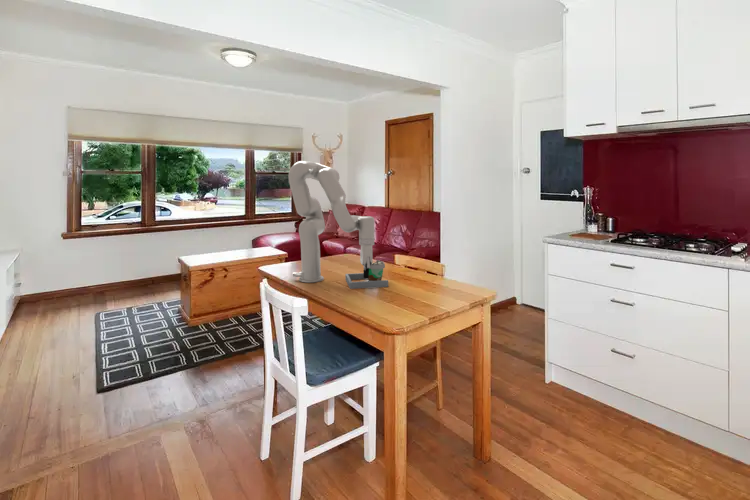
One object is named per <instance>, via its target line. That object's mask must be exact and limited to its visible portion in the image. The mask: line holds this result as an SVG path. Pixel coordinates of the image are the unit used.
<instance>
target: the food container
mask: <svg viewBox="0 0 750 500" xmlns="http://www.w3.org/2000/svg"><path fill="white" fill-rule="evenodd" d="M385 268H386V265H385V261H382V260H380V259H379V260H378V259H376V261H375V262H372V265H371V264H370V268H369V277H368V279H367V281H380V280H382V278H383V273H384V269H385Z"/></svg>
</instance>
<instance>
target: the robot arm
mask: <svg viewBox="0 0 750 500" xmlns="http://www.w3.org/2000/svg"><path fill="white" fill-rule="evenodd" d="M306 179H311V180H315V181H317V182H318V183H319V185H320V186H321V188H322V190H323V192H324V194H325V195H326V197H327V200H329V203H330V208H331V211H332V215H333V217H334V219H335V220H336V222H337V224H338V226H339V227H340V229H341V230H342V231H343V232H345V233H352V232H354V231H358V244H359V246H360V251H359V253H360V256H359V257H360V258H359V259H360V260H359V263H360V264H361V265H362V266H363V273H364V278H368V277H369V268H370V264H371V265H372V264H373V263H374V262H373V257H374V256H373V255H374V254H373V246H375V218H374V216H369V215H368V216H367V215H365V216H361V215H354V214H353V215H351V214H350V213H349V210H348V208H347V205H346V197H347V196H346V192H345V190H344V189H343V187H342V185H341V184H340V174H339V171H338V170H336V168H333V167H330V166H327V165H324V164H321V163H319V162H315V161H309V160H298V161H297V162H294V164H293V165H292V166H291V167H290V169H289V171H288V184H289V187H290V190H291V195H292V198H293V203H294V206H295V207H294V208H295V209H296V213H297V215H299V216H301V217H305V219H304V220H302V221H301V222H300V224H299V227H298V234H299V240H300V258H301V261H300V262H301V271H299V272H292V277H295V278H298V281H299V282H300V283H301V282H302V283H306V284H307V283H318V282H322V281H324V279H325V278H324V276H323V275H321V273H322V272H321V245H320V243H321V242H320V239H319V235H321V234H323V232H324V231H325V230H326V229H325V228H326V223H325V219H324V214H323V210H322V205H321V204H320V202H319V200H318V199H317V198H316V197H313V196H311V193H310V189H309V185H308V184H307V181H306Z"/></svg>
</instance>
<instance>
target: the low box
mask: <svg viewBox="0 0 750 500" xmlns="http://www.w3.org/2000/svg"><path fill="white" fill-rule="evenodd" d="M344 277H345V282H346V283H347V286H348V287H349V289H352V290H353V289H355V290H356V289H370V288H371V289H373V288H388V287H389V280H388V279H387V280H386V279H383V280H382V279H381V280H380V281H368V280H367V281H366V279H365V278H364V272H360V273H359V272H358V273H357V272H355V273H345V276H344ZM353 280H354V281H353ZM355 280H356V281H355ZM357 280H359V281H357ZM360 280H364V281H360Z"/></svg>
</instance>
